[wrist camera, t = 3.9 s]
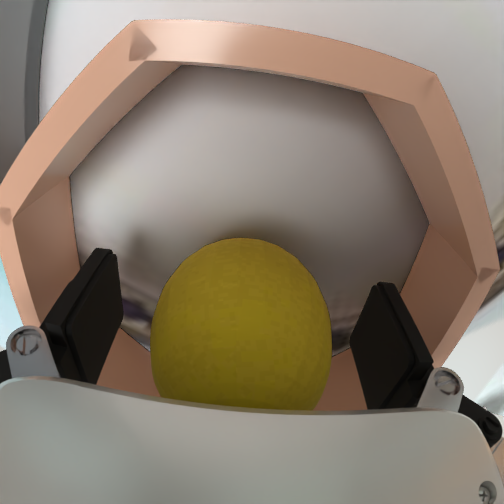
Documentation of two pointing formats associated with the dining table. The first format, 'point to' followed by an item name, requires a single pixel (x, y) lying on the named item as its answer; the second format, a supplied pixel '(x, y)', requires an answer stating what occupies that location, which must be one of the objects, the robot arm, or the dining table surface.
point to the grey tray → (19, 75)
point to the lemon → (242, 329)
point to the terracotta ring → (274, 62)
